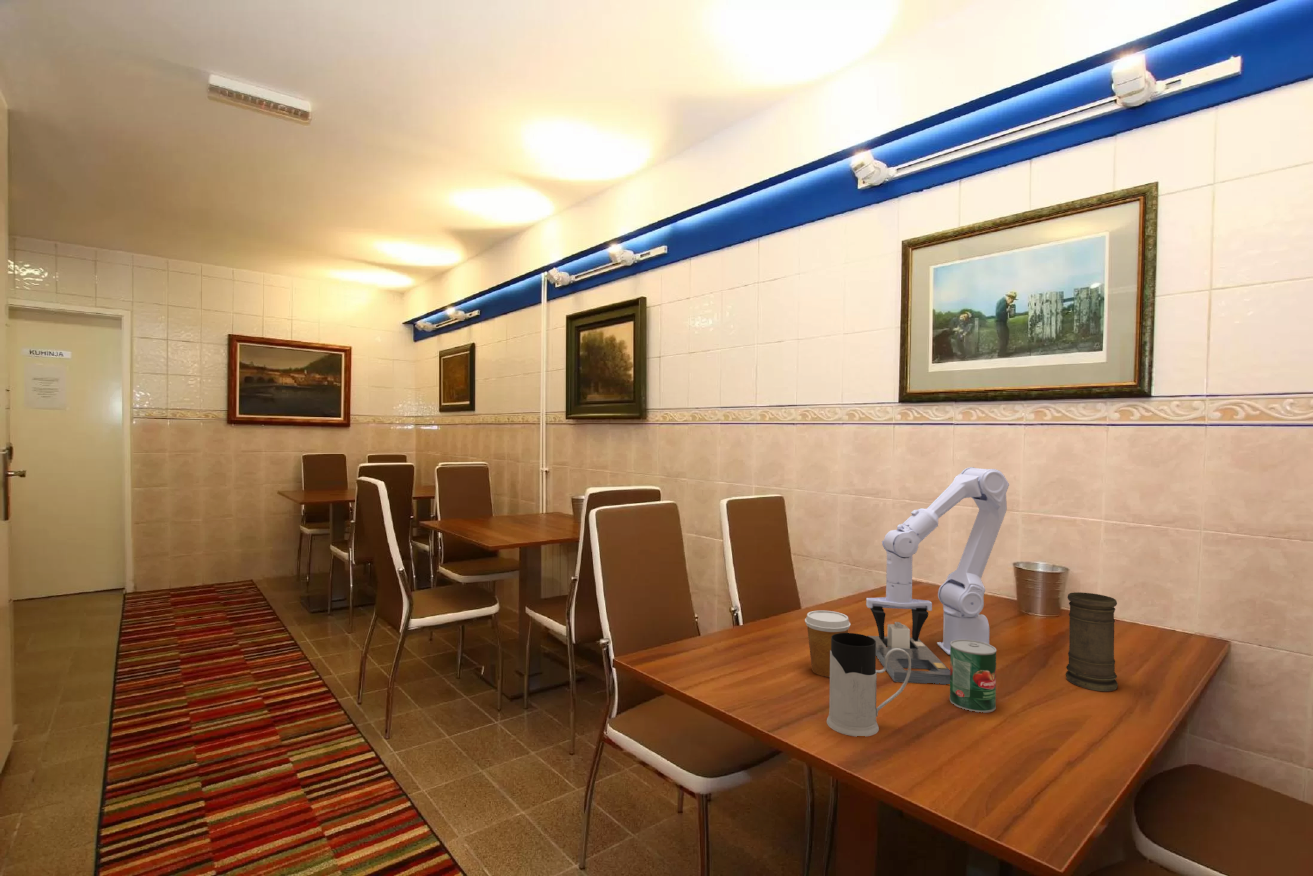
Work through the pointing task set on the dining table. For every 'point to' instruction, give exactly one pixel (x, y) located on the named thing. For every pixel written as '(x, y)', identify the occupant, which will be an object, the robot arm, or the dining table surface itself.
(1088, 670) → the container
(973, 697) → the canned tomato
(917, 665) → the panel
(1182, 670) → the dining table surface
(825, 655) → the disposable coffee cup
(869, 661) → the grey beer mug
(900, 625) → the plug
